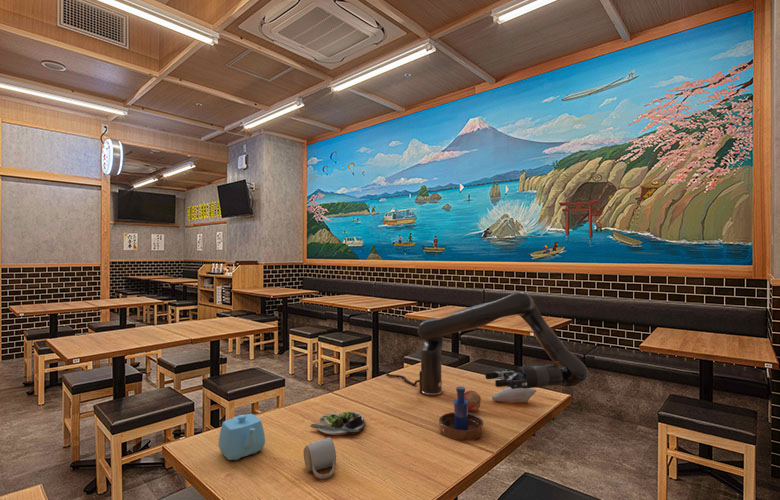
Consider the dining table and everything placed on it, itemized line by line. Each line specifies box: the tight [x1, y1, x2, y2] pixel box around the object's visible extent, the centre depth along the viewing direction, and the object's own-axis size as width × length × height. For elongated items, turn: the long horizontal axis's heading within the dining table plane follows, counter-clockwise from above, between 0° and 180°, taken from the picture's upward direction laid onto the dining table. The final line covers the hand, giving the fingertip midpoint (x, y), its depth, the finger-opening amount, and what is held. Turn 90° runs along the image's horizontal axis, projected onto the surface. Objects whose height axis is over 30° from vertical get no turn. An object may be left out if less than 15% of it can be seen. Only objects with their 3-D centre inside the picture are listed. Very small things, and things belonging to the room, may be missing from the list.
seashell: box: [491, 386, 537, 404], centre depth 160 cm, size 9×11×15 cm
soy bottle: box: [453, 386, 469, 430], centre depth 133 cm, size 5×5×15 cm
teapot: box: [218, 413, 266, 461], centre depth 120 cm, size 12×18×12 cm
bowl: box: [438, 411, 485, 442], centre depth 133 cm, size 15×15×4 cm
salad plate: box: [309, 411, 365, 436], centre depth 138 cm, size 19×18×5 cm
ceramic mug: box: [303, 436, 337, 480], centre depth 110 cm, size 11×8×8 cm
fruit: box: [464, 390, 482, 413], centre depth 151 cm, size 8×8×8 cm
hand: (490, 379), depth 135 cm, fingers open, 8 cm apart
